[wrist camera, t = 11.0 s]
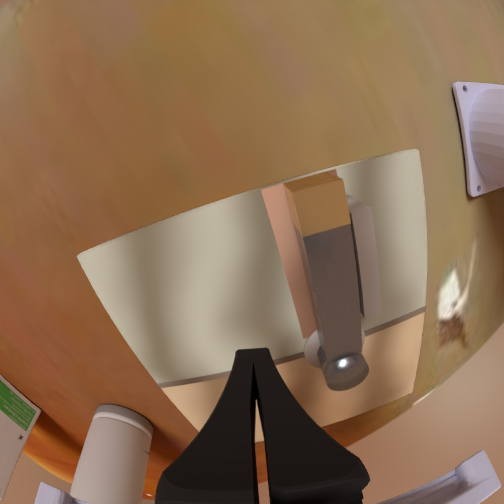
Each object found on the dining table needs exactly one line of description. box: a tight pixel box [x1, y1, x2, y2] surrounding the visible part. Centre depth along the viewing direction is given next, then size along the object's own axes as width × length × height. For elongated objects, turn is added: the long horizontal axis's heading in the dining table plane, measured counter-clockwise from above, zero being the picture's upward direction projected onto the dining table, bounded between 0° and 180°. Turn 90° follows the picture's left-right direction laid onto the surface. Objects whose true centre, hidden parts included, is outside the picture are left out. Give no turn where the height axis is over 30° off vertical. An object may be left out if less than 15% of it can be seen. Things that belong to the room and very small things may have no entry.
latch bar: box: [283, 172, 369, 391], centre depth 14 cm, size 13×3×3 cm, turn 16°
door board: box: [77, 149, 427, 442], centre depth 17 cm, size 21×23×3 cm
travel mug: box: [70, 404, 153, 504], centre depth 13 cm, size 6×7×20 cm
